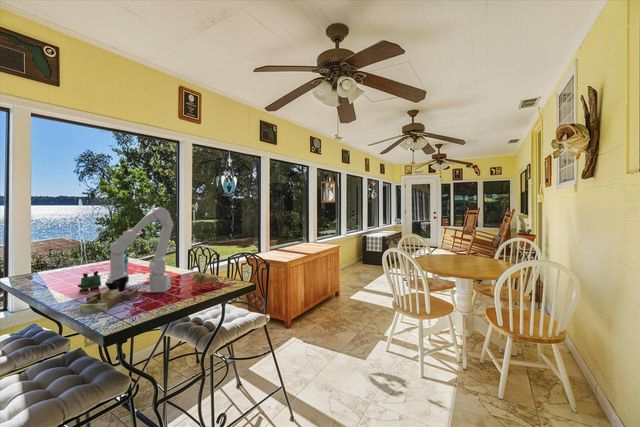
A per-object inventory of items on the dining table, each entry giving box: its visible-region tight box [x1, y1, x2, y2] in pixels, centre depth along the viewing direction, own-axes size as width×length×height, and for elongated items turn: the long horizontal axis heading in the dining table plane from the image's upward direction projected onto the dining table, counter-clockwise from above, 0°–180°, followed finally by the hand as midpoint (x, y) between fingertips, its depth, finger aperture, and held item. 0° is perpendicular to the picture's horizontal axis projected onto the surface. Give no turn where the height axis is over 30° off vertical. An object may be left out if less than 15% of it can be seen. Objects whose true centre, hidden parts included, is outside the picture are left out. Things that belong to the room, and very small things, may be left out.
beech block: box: [100, 289, 119, 304], centre depth 137 cm, size 5×5×5 cm
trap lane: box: [79, 286, 139, 313], centre depth 137 cm, size 16×26×3 cm, turn 9°
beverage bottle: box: [116, 247, 130, 284], centre depth 166 cm, size 8×8×20 cm
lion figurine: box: [192, 272, 223, 290], centre depth 159 cm, size 15×5×9 cm, turn 114°
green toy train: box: [77, 270, 102, 295], centre depth 151 cm, size 9×11×10 cm
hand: (117, 293), depth 144 cm, fingers open, 6 cm apart
